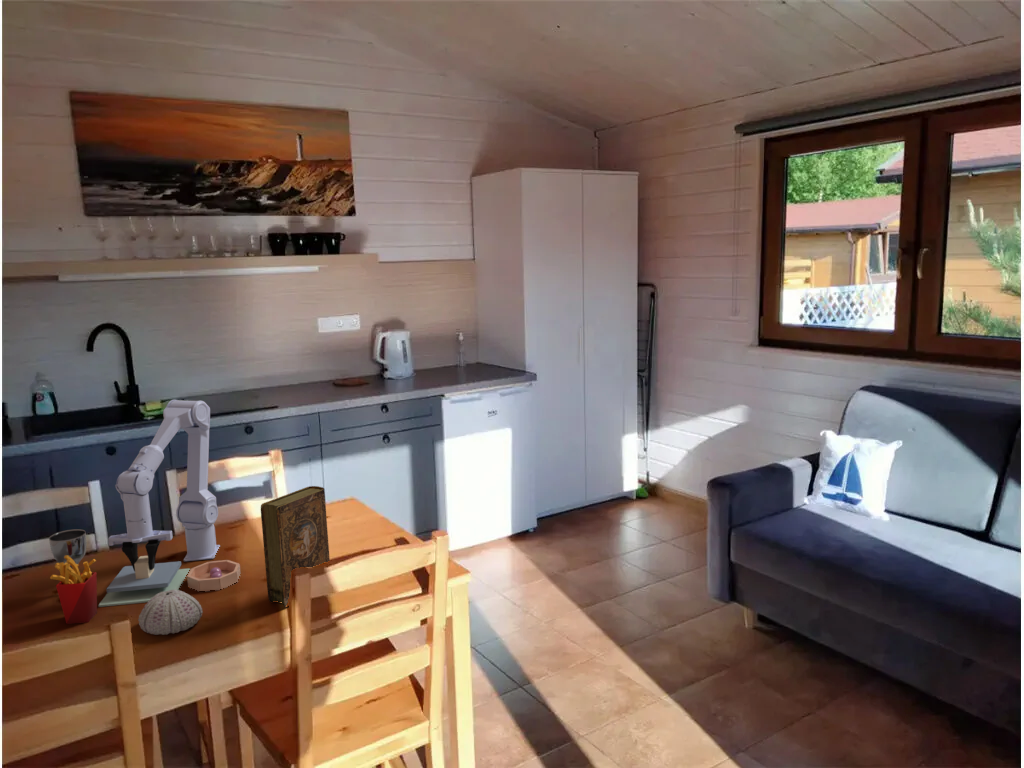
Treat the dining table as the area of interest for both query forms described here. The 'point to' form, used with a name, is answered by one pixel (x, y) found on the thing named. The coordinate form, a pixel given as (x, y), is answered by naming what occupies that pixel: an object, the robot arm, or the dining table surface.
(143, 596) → the mat
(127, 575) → the lid
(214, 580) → the bowl
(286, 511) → the book
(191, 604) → the sea urchin shell
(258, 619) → the dining table surface
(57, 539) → the silver goblet
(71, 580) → the french fries
